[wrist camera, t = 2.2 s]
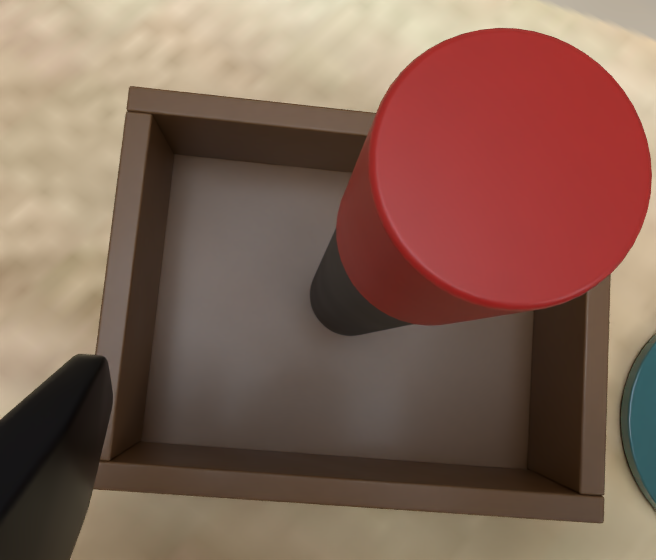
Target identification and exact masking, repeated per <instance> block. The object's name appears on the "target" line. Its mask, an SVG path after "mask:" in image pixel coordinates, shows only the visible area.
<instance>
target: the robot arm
mask: <svg viewBox="0 0 656 560" xmlns="http://www.w3.org/2000/svg"><path fill="white" fill-rule="evenodd" d="M112 405H113V390H112V383H111V377H110V371H109V364H108V361H107V359H106V358H105V357H104V356H101V355H88V354H78V355H76V356H74V357H72V358H71V359H70V360H69V361H68V362H66V363H65V364H64V365H63V366H62V367H61V368H59V369H58V370H57V371H56V372H55V373H54V374H53V375H51V376H50V377H49V378H48V379H47V380H46V381H44V382H43V383H42V384H41V385H40V386H39V387H38V388H36V389H35V390H34V391H33V392H32V393H31V394H29V395H28V396H27V397H26V398H25V399H24V400H23V401H21V402H20V403H19V404H18V405H17V406H16V407H14V408H13V409H12V410H11V411H10V412H9V413H8V414H6V415H5V416H4V417H3V418H2V419H1V420H0V560H70V558H71V555H72V552H73V549H74V547H75V544H76V541H77V538H78V536H79V533H80V530H81V527H82V525H83V522H84V519H85V516H86V513H87V510H88V507H89V503H90V499H91V495H92V491H93V487H94V483H95V478H96V474H97V470H98V466H99V461H100V457H101V453H102V449H103V444H104V440H105V436H106V432H107V427H108V423H109V419H110V415H111V410H112Z"/></svg>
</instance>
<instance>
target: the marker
mask: <svg viewBox="0 0 656 560" xmlns="http://www.w3.org/2000/svg"><path fill="white" fill-rule="evenodd" d="M651 179H652V172H651V158H650V153H649V148H648V143H647V138H646V135H645V132H644V129H643V126H642V123H641V121H640V119H639V117H638V115H637V113H636V110H635V108H634V106H633V105H632V103H631V101H630V100H629V98H628V97H627V95H626V94H625V92H624V90H623V89H622V88H621V87H620V86H619V84H618V83H617V82H616V81H615V79H614V78H613V77H612V76H611V75H610V74H609V73H608V72H607V71H606V70H605V69H604V68H603V67H602V66H601V65H600V64H598V63H597V62H596V61H594V60H593V59H592V58H590V57H589V56H588V55H587V54H585V53H584V52H582V51H580V50H579V49H577V48H575V47H573V46H572V45H570V44H568V43H566V42H563V41H561V40H559V39H556V38H554V37H552V36H548V35H545V34H541V33H538V32H535V31H528V30H522V29H513V28H494V29H484V30H478V31H473V32H469V33H465V34H461V35H458V36H456V37H453V38H450V39H448V40H445V41H443V42H441V43H439V44H437V45H435V46H434V47H432V48H430V49H428V50H427V51H425V52H424V53H423V54H421V55H420V56H418V57H417V58H416V59H414V60H413V61H412V62H411V63H410V64H409V65H408V66H407V67H406V68H405V69H404V70H403V71H402V72H401V73H400V74H399V75H398V77H397V78H396V79H395V81H394V82H393V83H392V84H391V86H390V87H389V89H388V91H387V92H386V94H385V96H384V97H383V99H382V101H381V103H380V105H379V108H378V110H377V113H376V115H375V117H374V120H373V122H372V125H371V127H370V130H369V132H368V135H367V137H366V140H365V142H364V145H363V147H362V150H361V152H360V155H359V157H358V160H357V162H356V165H355V167H354V170H353V172H352V175H351V177H350V180H349V182H348V185H347V187H346V190H345V192H344V195H343V197H342V200H341V203H340V206H339V210H338V215H337V223H336V229H335V231H334V233H333V236H332V238H331V240H330V242H329V245H328V247H327V249H326V251H325V253H324V256H323V258H322V260H321V262H320V265H319V267H318V269H317V271H316V274H315V276H314V278H313V281H312V284H311V288H310V301H311V306H312V309H313V311H314V314H315V315H316V317H317V318H318V320H319V321H320V322H321V323H322V324H323V325H324V326H325V327H326V328H328V329H329V330H331V331H333V332H335V333H337V334H341V335H346V336H356V335H362V334H367V333H372V332H377V331H382V330H387V329H392V328H397V327H402V326H407V325H412V324H417V325H425V326H435V325H445V324H452V323H458V322H464V321H471V320H477V319H483V318H489V317H496V316H502V315H508V314H514V313H521V312H527V311H533V310H540V309H546V308H549V307H553V306H556V305H560V304H563V303H566V302H568V301H570V300H572V299H575V298H577V297H579V296H581V295H583V294H584V293H586V292H588V291H589V290H591V289H593V288H594V287H596V286H597V285H598V284H599V283H601V282H602V281H603V280H604V279H605V278H607V277H608V276H609V275H610V274H611V273H612V272H613V271H614V270H615V269H616V267H617V266H618V265H619V264H620V263H621V262H622V261H623V259H624V258H625V256H626V255H627V253H628V252H629V250H630V249H631V248H632V246H633V244H634V242H635V240H636V238H637V236H638V234H639V232H640V230H641V228H642V225H643V222H644V219H645V216H646V213H647V210H648V205H649V199H650V194H651Z"/></svg>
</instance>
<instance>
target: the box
mask: <svg viewBox="0 0 656 560" xmlns="http://www.w3.org/2000/svg"><path fill="white" fill-rule="evenodd" d="M127 111H128V112H126V116H125V124H124V132H123V140H122V148H121V156H120V164H119V171H118V179H117V187H116V195H115V203H114V211H113V219H112V226H111V234H110V242H109V250H108V258H107V266H106V274H105V282H104V289H103V297H102V305H101V313H100V321H99V329H98V337H97V344H96V352H95V355H101V356H104V357H105V358H106V359H107V361H108V364H109V371H110V377H111V383H112V390H113V405H112V410H111V415H110V419H109V423H108V427H107V432H106V436H105V440H104V444H103V449H102V453H101V457H100V461H99V466H98V470H97V474H96V478H95V483H94V487H93V489H99V490H113V491H128V492H143V493H158V494H173V495H187V496H202V497H217V498H232V499H246V500H261V501H276V502H291V503H306V504H320V505H335V506H350V507H365V508H380V509H394V510H409V511H424V512H439V513H453V514H468V515H483V516H498V517H513V518H527V519H542V520H557V521H572V522H587V523H603V521H604V497H603V496H602V495H604V486H605V451H606V416H607V381H608V345H609V310H610V275H611V274H610V275H609V276H608V277H607V278H605V279H604V280H603V281H602V282H601V283H599V284H598V285H597V286H596V287H594V288H593V289H591V290H589V291H588V292H586V293H584V294H583V295H581V296H579V297H577V298H575V299H572V300H570V301H568V302H566V303H563V304H560V305H556V306H553V307H549V308H546V309H540V310H533V311H527V312H521V313H514V314H508V315H502V316H496V317H489V318H483V319H477V320H471V321H464V322H458V323H452V324H445V325H435V326H425V325H417V324H412V325H407V326H402V327H397V328H392V329H387V330H382V331H377V332H372V333H367V334H362V335H356V336H346V335H341V334H337V333H335V332H333V331H331V330H329V329H328V328H326V327H325V326H324V325H323V324H322V323H321V322H320V321H319V320H318V318H317V317H316V315H315V314H314V311H313V309H312V306H311V301H310V288H311V284H312V281H313V278H314V276H315V274H316V271H317V269H318V267H319V265H320V262H321V260H322V258H323V256H324V253H325V251H326V249H327V247H328V245H329V242H330V240H331V238H332V236H333V233H334V231H335V229H336V223H337V215H338V210H339V206H340V203H341V200H342V197H343V195H344V192H345V190H346V187H347V185H348V182H349V180H350V177H351V175H352V172H353V170H354V167H355V165H356V162H357V160H358V157H359V155H360V152H361V150H362V147H363V145H364V142H365V140H366V137H367V135H368V132H369V130H370V127H371V125H372V122H373V120H374V117H375V115H376V113H370V112H361V111H352V110H343V109H334V108H325V107H316V106H307V105H297V104H288V103H279V102H270V101H261V100H252V99H243V98H234V97H224V96H215V95H206V94H197V93H188V92H179V91H170V90H161V89H152V88H142V87H133V86H130V88H129V93H128V101H127Z"/></svg>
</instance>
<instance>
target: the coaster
mask: <svg viewBox="0 0 656 560" xmlns="http://www.w3.org/2000/svg"><path fill="white" fill-rule="evenodd" d="M621 433H622V440H623V445H624V451H625V454H626V457H627V460H628V464H629V467H630V469H631V471H632V474H633V476H634V478H635V480H636V482H637V484H638V486H639V487H640V489H641V491H642V492H643V494H644V496H645V497H646V498H647V500H648V501H649V502H650V503H651V505H652V506H653V507H654V508H655V510H656V334H655V335H654V336H653V337H652V338H651V340H650V341H649V342H648V343H647V344H646V345H645V346H644V348H643V349H642V351H641V352H640V354H639V355H638V357H637V358H636V360H635V362H634V365H633V367H632V369H631V371H630V373H629V376H628V379H627V382H626V385H625V388H624V394H623V399H622V406H621Z"/></svg>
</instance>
